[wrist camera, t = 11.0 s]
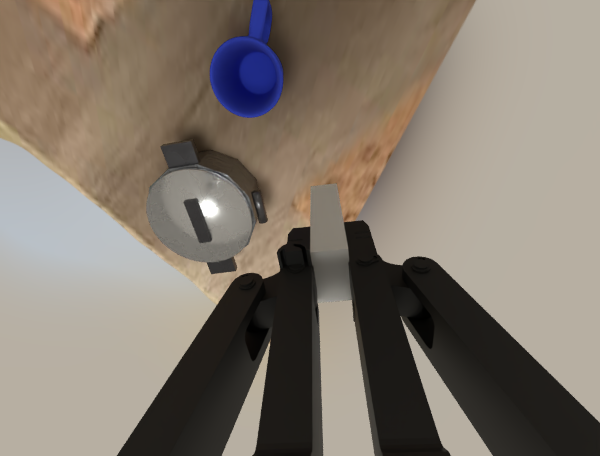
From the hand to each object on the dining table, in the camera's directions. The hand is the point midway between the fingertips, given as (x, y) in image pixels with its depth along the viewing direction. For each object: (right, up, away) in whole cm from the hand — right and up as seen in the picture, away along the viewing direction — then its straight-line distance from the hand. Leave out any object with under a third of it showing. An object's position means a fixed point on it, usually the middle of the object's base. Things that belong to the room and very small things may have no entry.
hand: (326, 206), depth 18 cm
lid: (-16, 0, +28) cm, 33 cm away
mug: (-7, +22, +24) cm, 33 cm away
